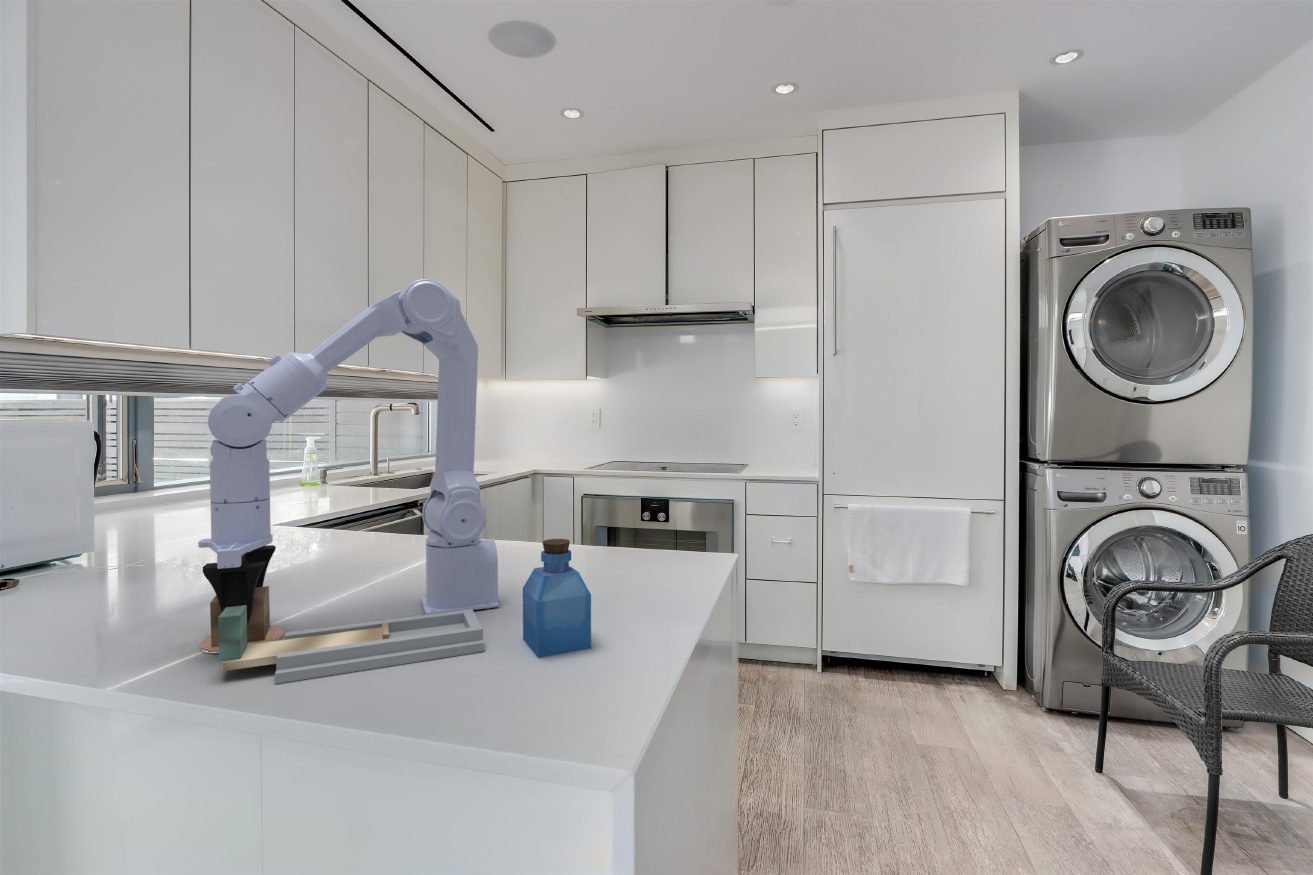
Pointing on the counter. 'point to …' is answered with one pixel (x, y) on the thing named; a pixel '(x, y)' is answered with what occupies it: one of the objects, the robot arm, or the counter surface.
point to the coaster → (272, 635)
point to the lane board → (384, 645)
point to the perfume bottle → (556, 604)
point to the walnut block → (258, 618)
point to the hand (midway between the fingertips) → (242, 616)
